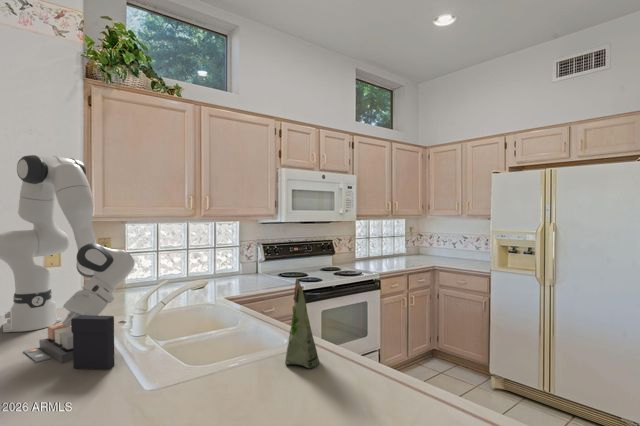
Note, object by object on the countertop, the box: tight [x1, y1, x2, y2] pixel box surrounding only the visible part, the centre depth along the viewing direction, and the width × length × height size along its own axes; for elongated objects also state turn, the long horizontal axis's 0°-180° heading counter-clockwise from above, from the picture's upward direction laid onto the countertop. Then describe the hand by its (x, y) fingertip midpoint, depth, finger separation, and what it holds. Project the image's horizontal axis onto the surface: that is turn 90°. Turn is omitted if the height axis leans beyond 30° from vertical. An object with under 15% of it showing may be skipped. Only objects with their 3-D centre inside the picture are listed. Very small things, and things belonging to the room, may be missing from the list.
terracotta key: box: [47, 322, 67, 340], centre depth 125 cm, size 5×5×4 cm
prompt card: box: [22, 347, 51, 363], centre depth 117 cm, size 14×4×1 cm, turn 52°
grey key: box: [62, 332, 73, 349], centre depth 117 cm, size 5×5×4 cm
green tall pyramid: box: [285, 277, 320, 369], centre depth 110 cm, size 11×12×25 cm
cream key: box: [55, 326, 72, 344], centre depth 121 cm, size 5×5×4 cm
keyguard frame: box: [39, 337, 73, 364], centre depth 121 cm, size 22×9×2 cm, turn 52°
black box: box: [70, 315, 115, 371], centre depth 108 cm, size 11×4×15 cm, turn 84°
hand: (65, 325), depth 121 cm, fingers closed
